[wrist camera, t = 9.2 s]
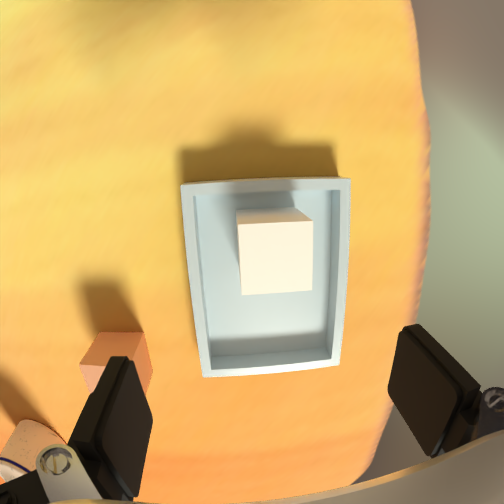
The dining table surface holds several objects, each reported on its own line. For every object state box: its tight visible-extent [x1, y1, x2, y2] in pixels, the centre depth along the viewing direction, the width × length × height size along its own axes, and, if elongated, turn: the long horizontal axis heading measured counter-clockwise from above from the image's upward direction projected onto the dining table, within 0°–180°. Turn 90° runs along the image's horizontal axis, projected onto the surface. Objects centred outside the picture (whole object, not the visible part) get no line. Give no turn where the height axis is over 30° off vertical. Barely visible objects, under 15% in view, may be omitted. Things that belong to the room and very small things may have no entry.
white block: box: [236, 207, 313, 295], centre depth 22 cm, size 4×4×6 cm
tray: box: [180, 176, 350, 377], centre depth 25 cm, size 16×12×3 cm
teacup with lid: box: [0, 419, 66, 482], centre depth 26 cm, size 12×9×12 cm
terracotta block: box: [79, 332, 153, 396], centre depth 25 cm, size 4×4×6 cm
